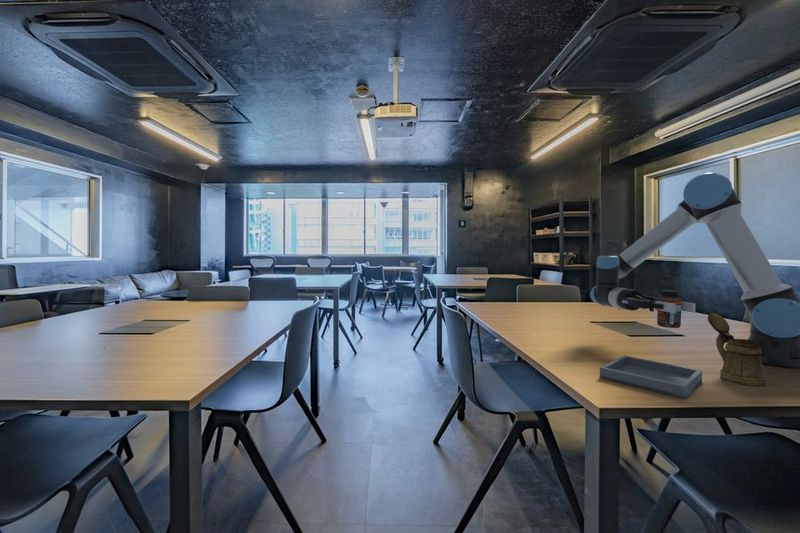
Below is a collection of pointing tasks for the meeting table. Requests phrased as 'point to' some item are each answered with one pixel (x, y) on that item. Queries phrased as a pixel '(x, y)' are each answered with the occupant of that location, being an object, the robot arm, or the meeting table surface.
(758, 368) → the wooden mug
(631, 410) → the meeting table surface
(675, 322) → the supplement bottle
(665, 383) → the grey tray
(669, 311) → the robot arm
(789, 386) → the meeting table surface
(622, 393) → the meeting table surface
